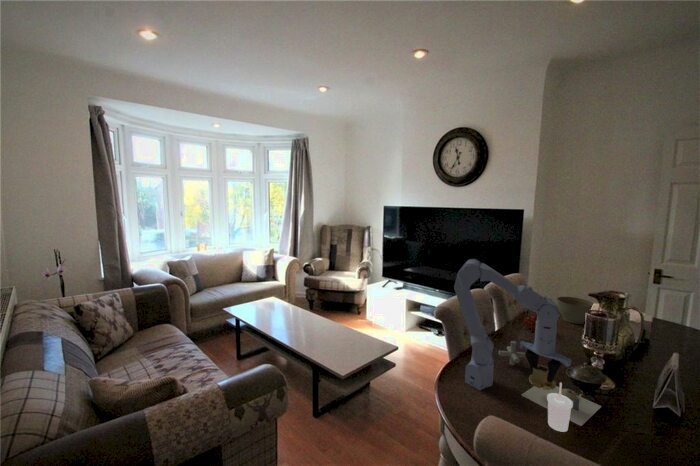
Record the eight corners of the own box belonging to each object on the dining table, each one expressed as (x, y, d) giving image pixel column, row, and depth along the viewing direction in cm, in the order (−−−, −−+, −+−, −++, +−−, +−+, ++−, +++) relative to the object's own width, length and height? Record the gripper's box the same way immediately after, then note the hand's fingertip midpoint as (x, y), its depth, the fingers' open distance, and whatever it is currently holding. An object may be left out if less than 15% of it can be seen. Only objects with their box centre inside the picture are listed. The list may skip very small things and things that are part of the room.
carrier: (580, 429, 89) (582, 416, 88) (520, 397, 103) (521, 386, 102) (601, 409, 97) (602, 397, 96) (543, 382, 111) (543, 372, 110)
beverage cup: (546, 418, 93) (550, 374, 92) (571, 428, 89) (575, 382, 88) (542, 429, 89) (546, 383, 87) (569, 440, 85) (572, 392, 83)
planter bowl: (599, 328, 156) (601, 307, 155) (563, 325, 160) (564, 305, 159) (583, 316, 172) (585, 297, 170) (550, 314, 175) (552, 295, 174)
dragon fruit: (549, 338, 149) (522, 333, 158) (553, 324, 153) (527, 320, 162) (543, 327, 146) (517, 322, 155) (548, 312, 150) (522, 309, 159)
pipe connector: (530, 374, 116) (532, 349, 115) (501, 372, 118) (503, 346, 117) (521, 361, 126) (523, 337, 124) (495, 358, 128) (496, 335, 126)
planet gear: (548, 392, 97) (549, 377, 96) (525, 381, 103) (525, 367, 102) (559, 384, 101) (560, 370, 100) (536, 374, 106) (536, 360, 106)
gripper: (576, 342, 96) (573, 384, 98) (528, 326, 108) (525, 363, 109) (566, 349, 92) (562, 392, 94) (517, 331, 104) (515, 369, 106)
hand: (542, 377), depth 101 cm, fingers closed on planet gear, 4 cm apart
